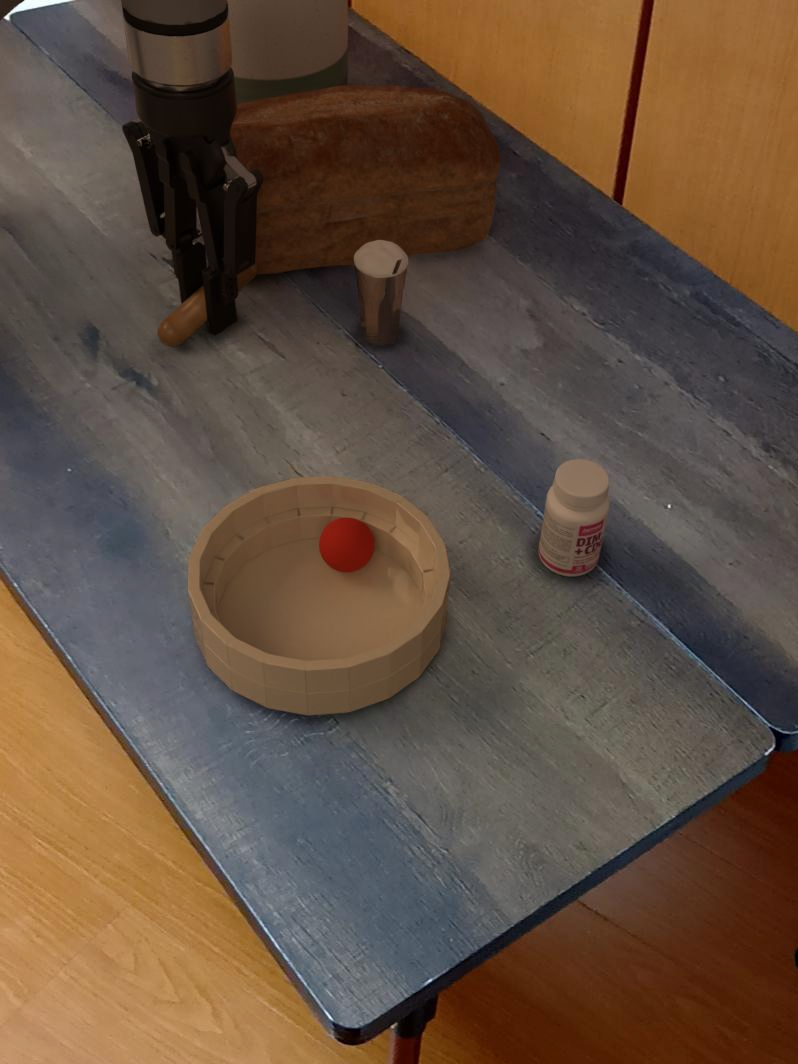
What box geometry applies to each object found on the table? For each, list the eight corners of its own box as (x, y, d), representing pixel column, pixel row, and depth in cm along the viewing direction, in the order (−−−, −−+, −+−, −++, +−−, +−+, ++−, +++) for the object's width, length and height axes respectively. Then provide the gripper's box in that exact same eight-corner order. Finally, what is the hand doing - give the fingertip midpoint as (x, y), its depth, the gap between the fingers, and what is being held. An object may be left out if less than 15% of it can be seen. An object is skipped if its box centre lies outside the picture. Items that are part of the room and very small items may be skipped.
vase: (176, 84, 143) (150, -151, 125) (331, 75, 148) (327, -153, 130) (196, 168, 132) (172, -76, 115) (363, 156, 137) (364, -80, 119)
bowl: (194, 733, 87) (186, 678, 83) (196, 538, 99) (189, 481, 95) (458, 712, 90) (464, 659, 86) (431, 526, 102) (434, 470, 98)
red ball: (303, 541, 97) (348, 560, 99) (314, 571, 94) (361, 590, 96) (332, 499, 96) (377, 519, 98) (344, 528, 93) (390, 548, 95)
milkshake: (374, 362, 115) (375, 266, 107) (345, 327, 118) (344, 232, 110) (419, 347, 117) (423, 252, 109) (390, 313, 120) (392, 219, 112)
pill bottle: (578, 588, 99) (593, 510, 93) (525, 559, 101) (536, 481, 95) (610, 551, 102) (626, 473, 96) (559, 523, 104) (571, 445, 98)
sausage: (238, 247, 117) (253, 249, 116) (251, 270, 119) (267, 272, 117) (147, 328, 112) (162, 331, 111) (162, 350, 114) (177, 353, 112)
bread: (188, 221, 126) (173, 81, 116) (467, 188, 135) (476, 56, 124) (212, 295, 119) (198, 153, 108) (505, 256, 127) (518, 121, 117)
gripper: (293, 87, 99) (305, 336, 116) (146, 16, 104) (178, 265, 121) (221, 123, 94) (244, 377, 111) (71, 48, 100) (115, 302, 117)
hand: (210, 318), depth 116 cm, fingers closed on sausage, 2 cm apart
